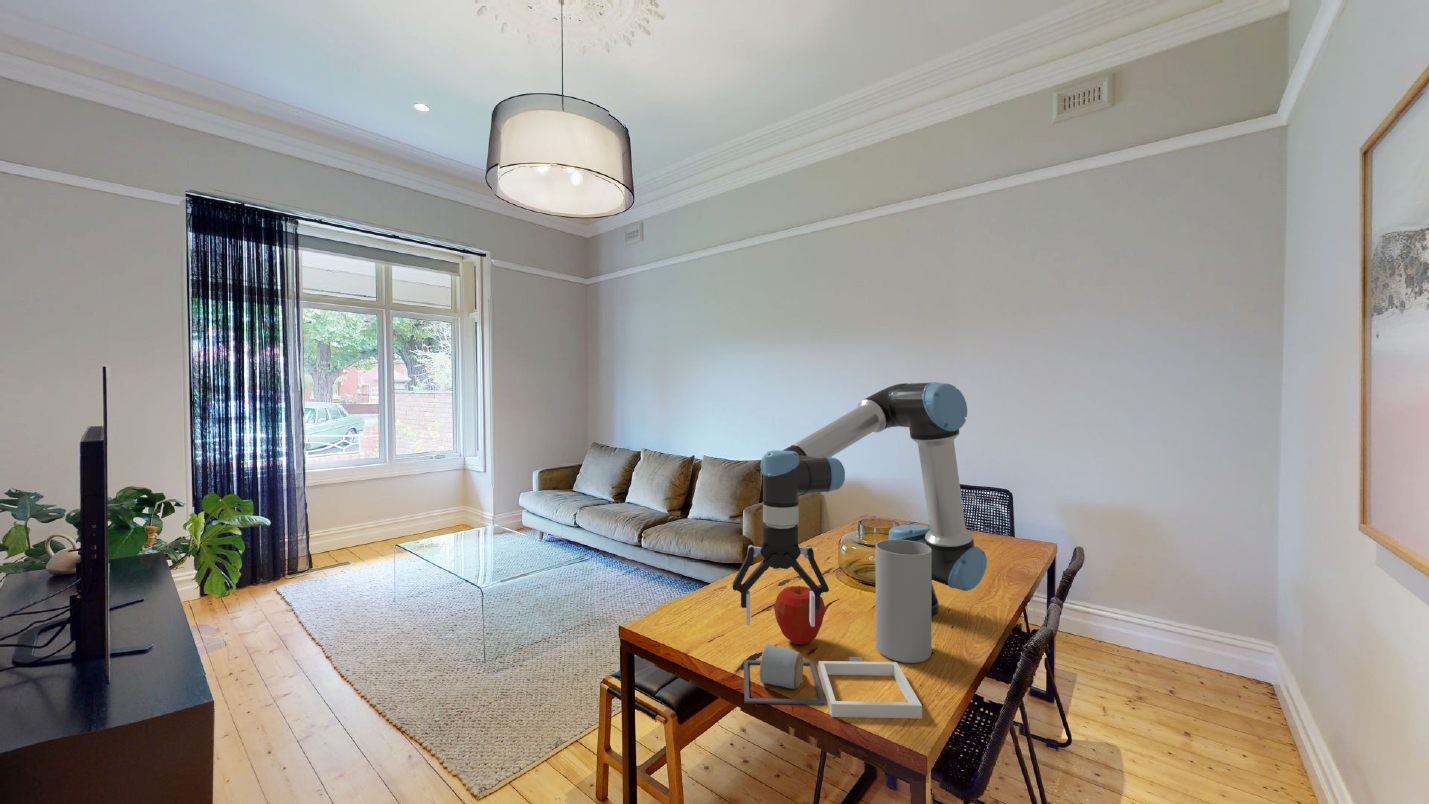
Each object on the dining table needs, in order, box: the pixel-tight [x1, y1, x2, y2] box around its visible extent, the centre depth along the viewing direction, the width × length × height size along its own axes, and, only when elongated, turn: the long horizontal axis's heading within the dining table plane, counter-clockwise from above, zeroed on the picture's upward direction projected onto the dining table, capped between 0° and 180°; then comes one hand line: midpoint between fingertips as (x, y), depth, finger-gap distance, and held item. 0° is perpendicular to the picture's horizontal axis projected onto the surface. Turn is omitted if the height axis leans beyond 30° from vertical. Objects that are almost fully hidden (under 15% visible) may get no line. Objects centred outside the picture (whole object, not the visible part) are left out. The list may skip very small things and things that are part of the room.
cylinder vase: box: [875, 539, 933, 664], centre depth 126 cm, size 12×12×25 cm
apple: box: [773, 585, 826, 646], centre depth 131 cm, size 12×12×14 cm
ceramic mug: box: [759, 643, 804, 690], centre depth 114 cm, size 11×8×8 cm
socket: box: [818, 656, 923, 720], centre depth 109 cm, size 17×18×2 cm
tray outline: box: [743, 659, 826, 705], centre depth 113 cm, size 16×16×1 cm
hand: (779, 623), depth 113 cm, fingers open, 13 cm apart
